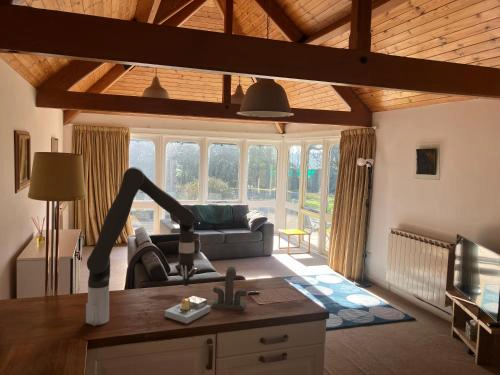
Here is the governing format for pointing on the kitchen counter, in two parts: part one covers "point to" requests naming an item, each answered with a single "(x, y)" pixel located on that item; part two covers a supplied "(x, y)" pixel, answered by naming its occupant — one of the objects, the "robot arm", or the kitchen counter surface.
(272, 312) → the kitchen counter surface
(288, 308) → the kitchen counter surface
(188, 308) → the cylinder
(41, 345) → the kitchen counter surface
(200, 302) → the shunt plate
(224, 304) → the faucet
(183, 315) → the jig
